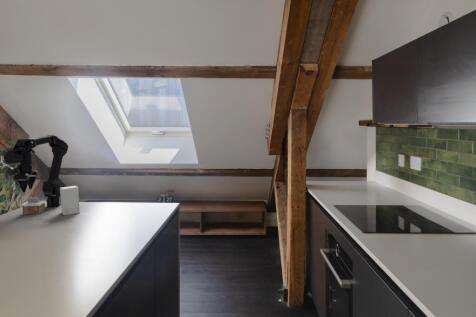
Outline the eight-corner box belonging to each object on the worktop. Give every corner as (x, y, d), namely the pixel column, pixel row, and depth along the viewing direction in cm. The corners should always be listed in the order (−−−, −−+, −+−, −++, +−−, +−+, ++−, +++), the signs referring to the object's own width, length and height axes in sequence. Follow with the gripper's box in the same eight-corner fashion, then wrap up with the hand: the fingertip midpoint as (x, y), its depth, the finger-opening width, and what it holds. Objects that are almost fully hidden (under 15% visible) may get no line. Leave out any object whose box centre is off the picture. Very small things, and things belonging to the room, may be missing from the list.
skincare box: (77, 211, 182) (76, 185, 180) (80, 213, 177) (79, 186, 176) (60, 213, 177) (59, 186, 175) (63, 215, 172) (61, 188, 171)
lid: (45, 203, 180) (45, 195, 180) (39, 207, 172) (38, 199, 171) (28, 204, 179) (28, 196, 178) (21, 208, 170) (21, 199, 170)
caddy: (45, 210, 180) (44, 202, 180) (39, 214, 172) (38, 205, 172) (29, 211, 179) (28, 202, 178) (22, 215, 171) (22, 206, 170)
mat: (53, 211, 180) (52, 211, 180) (41, 220, 164) (41, 219, 164) (31, 212, 178) (31, 212, 178) (17, 221, 162) (17, 220, 162)
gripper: (15, 160, 178) (17, 188, 179) (0, 163, 160) (2, 194, 161) (38, 160, 181) (39, 187, 182) (26, 163, 163) (27, 193, 164)
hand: (27, 190), depth 172 cm, fingers open, 9 cm apart
